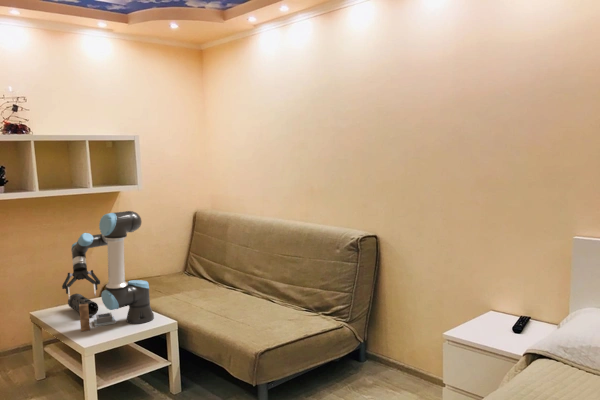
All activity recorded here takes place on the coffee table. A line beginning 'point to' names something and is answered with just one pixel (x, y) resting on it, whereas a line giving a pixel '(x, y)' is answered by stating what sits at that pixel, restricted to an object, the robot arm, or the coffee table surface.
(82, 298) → the muzzle brake
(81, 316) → the walnut post
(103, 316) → the socket stand
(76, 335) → the coffee table surface
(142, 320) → the robot arm
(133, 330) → the coffee table surface
